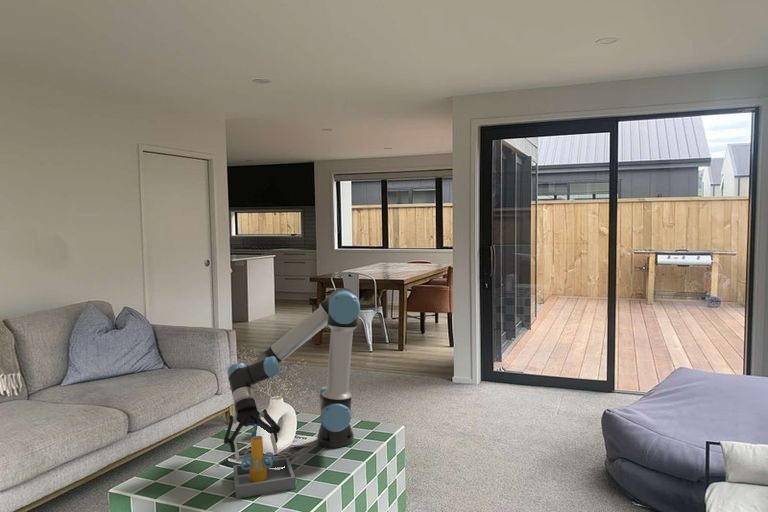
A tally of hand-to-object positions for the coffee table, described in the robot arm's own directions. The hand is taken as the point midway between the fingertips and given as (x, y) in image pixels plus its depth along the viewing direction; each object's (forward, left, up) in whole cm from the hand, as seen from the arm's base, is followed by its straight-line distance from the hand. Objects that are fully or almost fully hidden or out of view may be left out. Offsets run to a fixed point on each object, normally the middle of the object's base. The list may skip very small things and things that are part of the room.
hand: (257, 455), depth 206 cm
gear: (-5, -47, -10) cm, 48 cm away
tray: (-2, 0, -10) cm, 10 cm away
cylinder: (0, -1, -9) cm, 10 cm away
